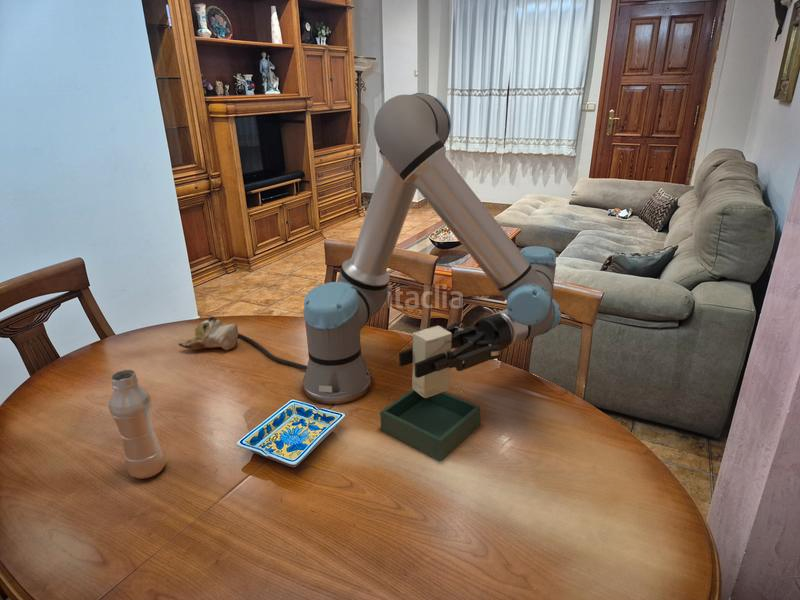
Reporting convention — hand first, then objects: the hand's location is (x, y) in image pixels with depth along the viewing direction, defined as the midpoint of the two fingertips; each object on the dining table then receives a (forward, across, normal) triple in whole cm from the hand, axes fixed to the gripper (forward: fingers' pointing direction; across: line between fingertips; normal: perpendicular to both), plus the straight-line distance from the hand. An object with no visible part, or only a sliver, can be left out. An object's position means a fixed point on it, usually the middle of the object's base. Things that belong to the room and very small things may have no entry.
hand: (408, 365), depth 93 cm
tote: (-5, 0, -16) cm, 17 cm away
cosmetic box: (-5, 0, -7) cm, 9 cm away
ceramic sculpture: (+20, +62, -16) cm, 67 cm away
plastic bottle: (+44, +20, -16) cm, 51 cm away
